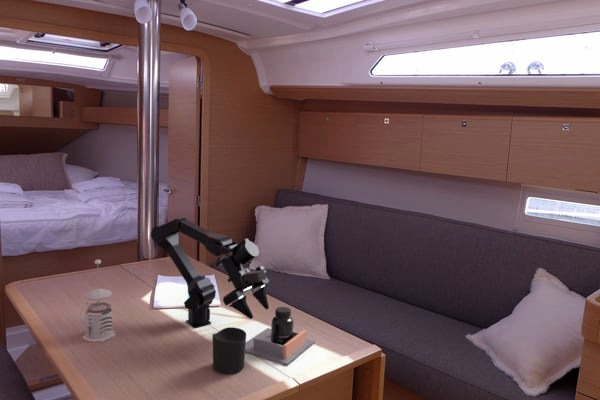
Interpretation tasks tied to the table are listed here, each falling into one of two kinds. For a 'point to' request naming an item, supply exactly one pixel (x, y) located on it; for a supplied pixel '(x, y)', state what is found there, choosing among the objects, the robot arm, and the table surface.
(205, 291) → the robot arm
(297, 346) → the bottle holder
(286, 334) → the supplement bottle
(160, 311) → the table surface
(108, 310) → the french press
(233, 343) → the pen holder
